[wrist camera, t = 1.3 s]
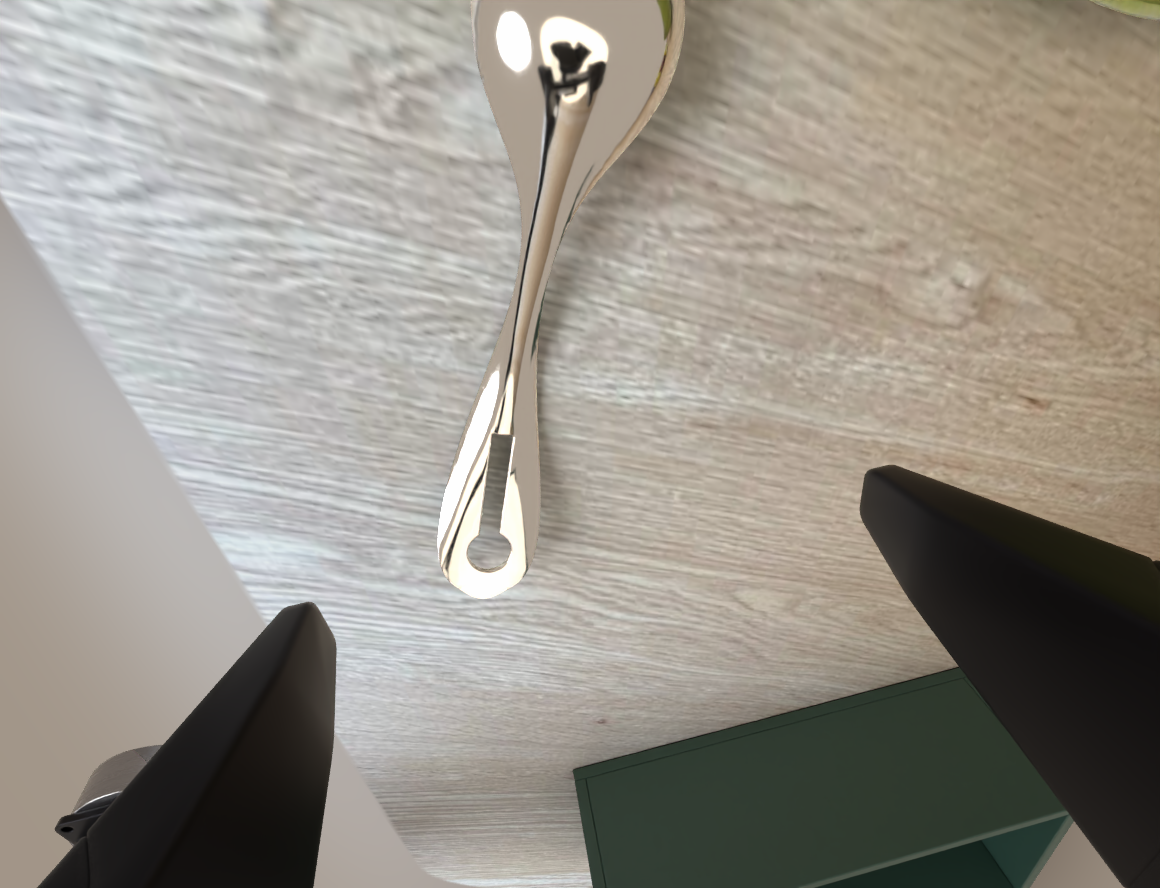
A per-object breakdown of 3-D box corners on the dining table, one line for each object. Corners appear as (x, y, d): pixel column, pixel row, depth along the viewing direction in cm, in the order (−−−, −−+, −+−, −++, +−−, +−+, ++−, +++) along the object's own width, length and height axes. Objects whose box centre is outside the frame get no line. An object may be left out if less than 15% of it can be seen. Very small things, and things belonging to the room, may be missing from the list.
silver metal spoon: (554, 642, 20) (410, 642, 19) (540, 572, 23) (415, 569, 22) (740, -127, 11) (492, -220, 10) (677, -74, 14) (482, -141, 13)
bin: (597, 853, 37) (626, 1013, 31) (572, 769, 32) (602, 943, 25) (932, 760, 39) (1025, 895, 33) (965, 665, 33) (1085, 805, 27)
